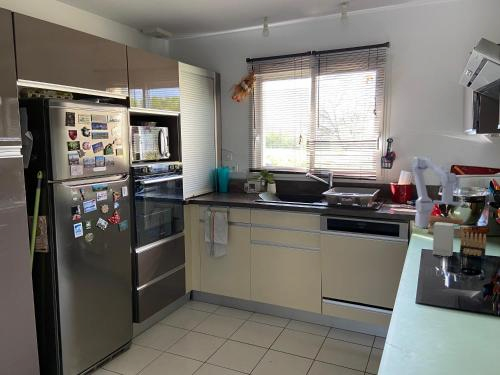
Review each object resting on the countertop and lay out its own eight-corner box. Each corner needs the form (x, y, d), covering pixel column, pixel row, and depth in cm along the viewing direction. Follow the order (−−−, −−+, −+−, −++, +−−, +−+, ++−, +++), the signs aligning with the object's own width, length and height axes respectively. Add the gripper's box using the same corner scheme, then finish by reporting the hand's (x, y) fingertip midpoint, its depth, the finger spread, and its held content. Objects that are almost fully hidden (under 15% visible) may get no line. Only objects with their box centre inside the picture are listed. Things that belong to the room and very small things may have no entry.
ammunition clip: (485, 258, 186) (487, 233, 185) (484, 259, 185) (487, 234, 183) (459, 254, 192) (461, 230, 190) (459, 255, 190) (461, 231, 189)
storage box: (428, 229, 244) (428, 222, 243) (461, 232, 236) (461, 225, 236) (427, 233, 233) (428, 226, 233) (462, 236, 226) (462, 230, 225)
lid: (428, 222, 244) (428, 220, 244) (461, 225, 236) (461, 224, 236) (428, 216, 232) (429, 215, 233) (463, 219, 225) (463, 218, 225)
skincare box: (452, 255, 191) (455, 223, 188) (450, 258, 185) (453, 226, 183) (433, 252, 195) (436, 221, 193) (431, 255, 190) (433, 223, 188)
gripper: (433, 194, 229) (432, 217, 231) (462, 195, 223) (460, 219, 225) (433, 192, 236) (432, 215, 237) (461, 194, 229) (459, 217, 231)
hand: (445, 217), depth 232 cm, fingers closed
